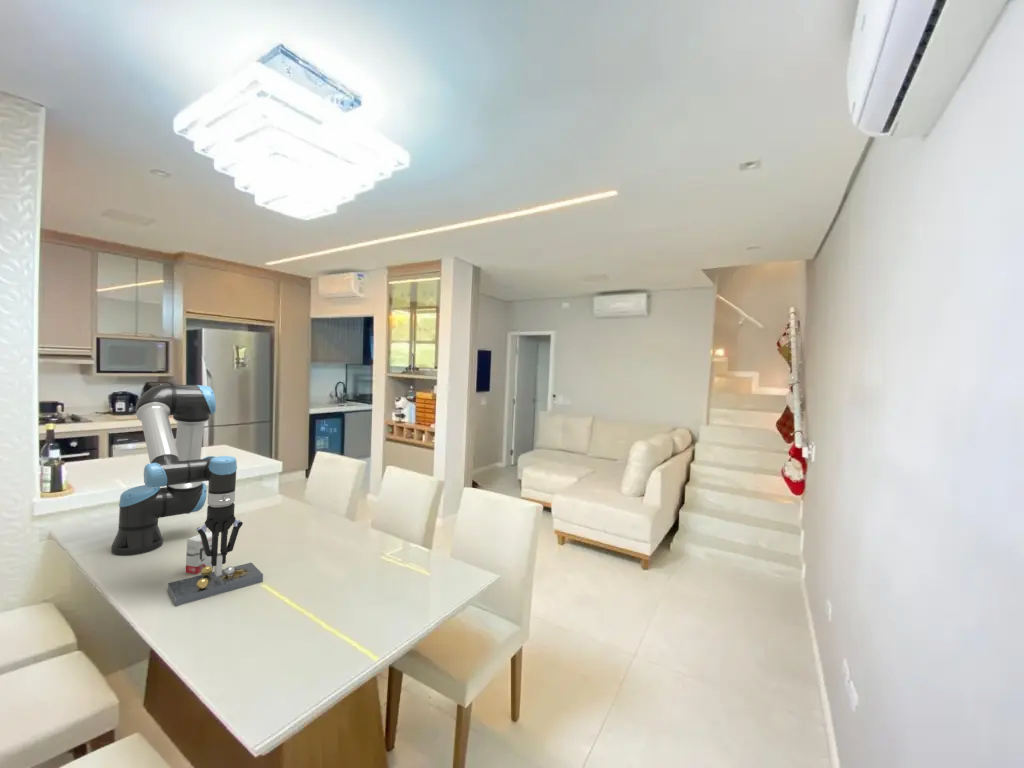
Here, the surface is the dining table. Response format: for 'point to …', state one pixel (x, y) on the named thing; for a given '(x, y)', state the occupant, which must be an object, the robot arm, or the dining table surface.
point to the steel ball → (229, 571)
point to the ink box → (197, 554)
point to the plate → (213, 584)
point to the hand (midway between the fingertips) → (217, 574)
